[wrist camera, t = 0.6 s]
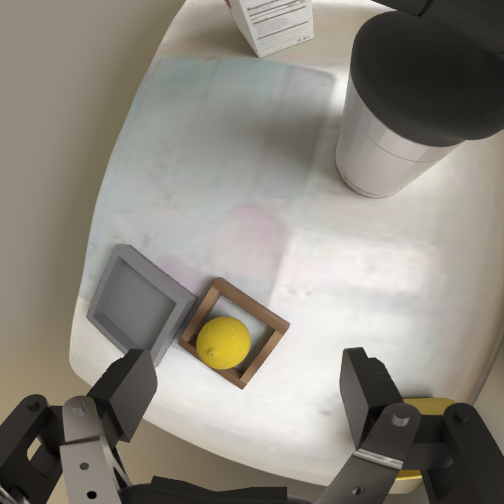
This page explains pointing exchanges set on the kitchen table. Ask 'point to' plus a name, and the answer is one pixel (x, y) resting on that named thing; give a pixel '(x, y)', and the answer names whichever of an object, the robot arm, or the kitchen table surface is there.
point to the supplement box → (272, 23)
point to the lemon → (223, 342)
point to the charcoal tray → (139, 304)
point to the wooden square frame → (249, 305)
